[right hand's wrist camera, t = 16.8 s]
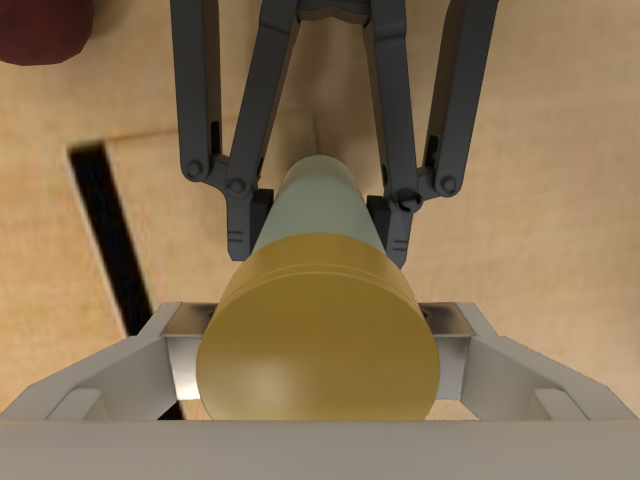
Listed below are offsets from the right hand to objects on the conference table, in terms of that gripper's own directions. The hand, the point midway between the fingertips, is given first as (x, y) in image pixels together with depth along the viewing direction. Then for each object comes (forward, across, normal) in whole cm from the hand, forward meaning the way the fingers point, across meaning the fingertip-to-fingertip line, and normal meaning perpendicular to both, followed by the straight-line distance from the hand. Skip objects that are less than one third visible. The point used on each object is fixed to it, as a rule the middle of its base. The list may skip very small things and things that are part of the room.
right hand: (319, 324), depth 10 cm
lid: (-2, 0, 0) cm, 2 cm away
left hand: (+9, 0, -5) cm, 10 cm away
